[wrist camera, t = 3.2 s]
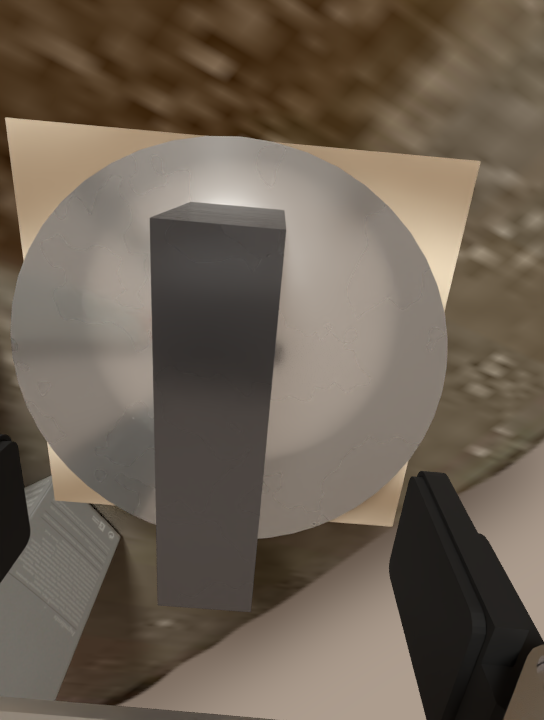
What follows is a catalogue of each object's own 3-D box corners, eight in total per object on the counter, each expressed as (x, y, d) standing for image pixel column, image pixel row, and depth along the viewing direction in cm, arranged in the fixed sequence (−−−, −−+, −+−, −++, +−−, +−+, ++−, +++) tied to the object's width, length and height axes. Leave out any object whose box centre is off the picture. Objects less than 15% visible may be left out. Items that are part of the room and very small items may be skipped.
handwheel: (-2, 116, 15) (-180, 83, 9) (485, 161, 15) (611, 157, 9) (50, 506, 21) (-35, 633, 15) (394, 532, 21) (436, 667, 16)
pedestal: (78, 130, 21) (5, 117, 15) (427, 162, 21) (480, 161, 15) (101, 432, 27) (54, 500, 21) (369, 453, 27) (392, 526, 22)
